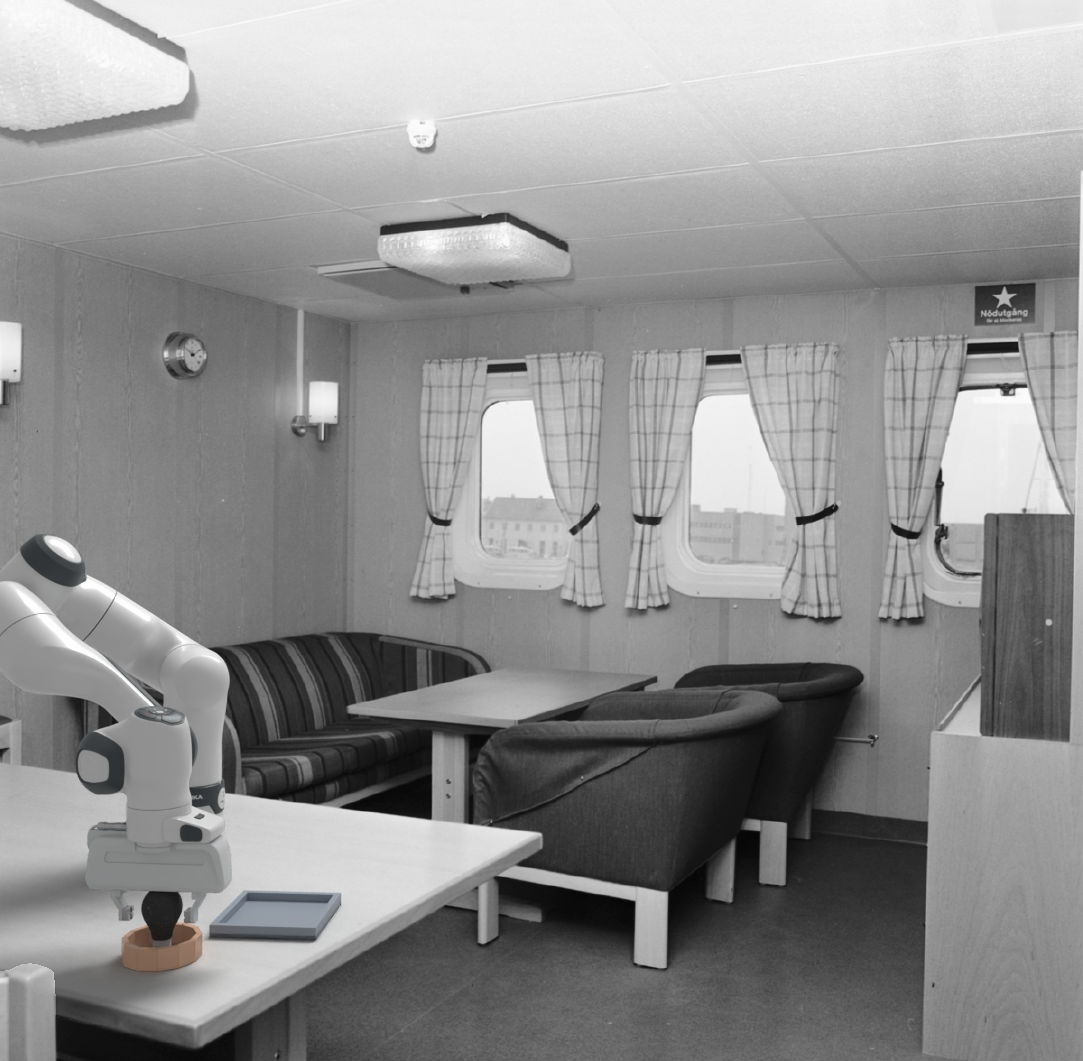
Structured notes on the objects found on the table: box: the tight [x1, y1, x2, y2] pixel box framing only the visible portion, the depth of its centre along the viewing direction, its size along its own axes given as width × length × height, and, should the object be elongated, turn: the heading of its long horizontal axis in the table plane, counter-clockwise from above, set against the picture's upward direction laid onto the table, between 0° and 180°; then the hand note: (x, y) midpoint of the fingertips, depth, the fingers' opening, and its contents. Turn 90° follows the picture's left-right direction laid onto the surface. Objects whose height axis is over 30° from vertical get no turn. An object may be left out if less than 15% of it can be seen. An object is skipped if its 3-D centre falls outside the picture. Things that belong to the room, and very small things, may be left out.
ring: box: [120, 922, 203, 972], centre depth 166 cm, size 11×11×3 cm
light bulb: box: [141, 891, 184, 947], centre depth 165 cm, size 6×6×10 cm
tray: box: [208, 889, 342, 941], centre depth 181 cm, size 16×16×2 cm
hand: (158, 920), depth 165 cm, fingers open, 8 cm apart
